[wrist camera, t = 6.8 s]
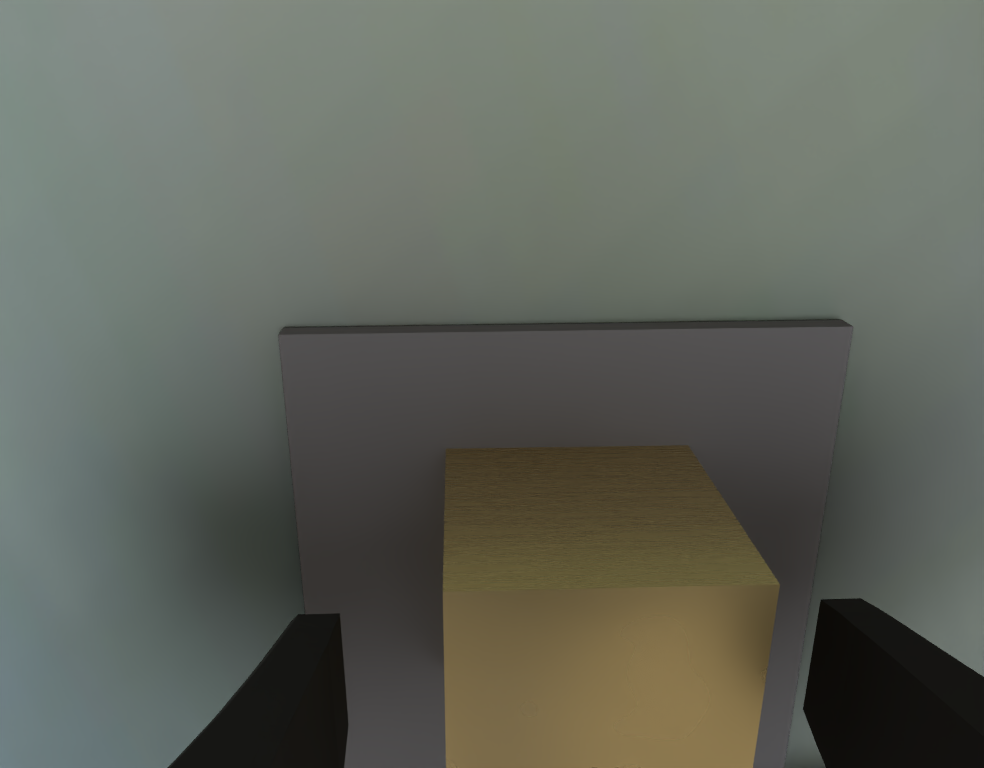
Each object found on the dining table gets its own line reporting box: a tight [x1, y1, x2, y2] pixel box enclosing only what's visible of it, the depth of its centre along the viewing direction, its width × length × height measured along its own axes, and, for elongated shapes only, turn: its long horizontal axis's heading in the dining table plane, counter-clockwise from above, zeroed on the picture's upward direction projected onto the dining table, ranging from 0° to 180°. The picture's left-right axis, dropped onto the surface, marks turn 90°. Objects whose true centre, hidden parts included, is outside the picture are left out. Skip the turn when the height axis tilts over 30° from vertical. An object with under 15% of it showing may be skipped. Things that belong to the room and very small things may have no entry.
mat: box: [278, 320, 853, 768], centre depth 14 cm, size 9×9×1 cm
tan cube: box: [443, 445, 780, 768], centre depth 12 cm, size 4×4×4 cm
